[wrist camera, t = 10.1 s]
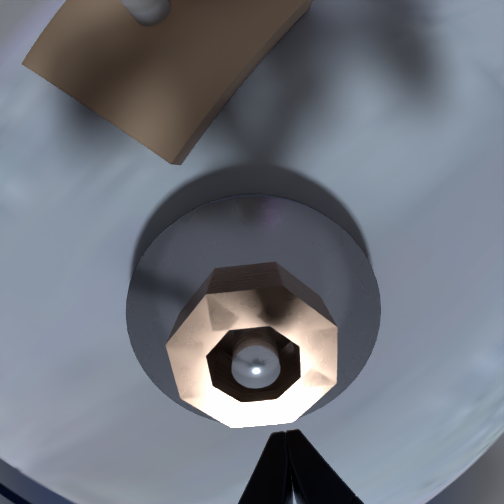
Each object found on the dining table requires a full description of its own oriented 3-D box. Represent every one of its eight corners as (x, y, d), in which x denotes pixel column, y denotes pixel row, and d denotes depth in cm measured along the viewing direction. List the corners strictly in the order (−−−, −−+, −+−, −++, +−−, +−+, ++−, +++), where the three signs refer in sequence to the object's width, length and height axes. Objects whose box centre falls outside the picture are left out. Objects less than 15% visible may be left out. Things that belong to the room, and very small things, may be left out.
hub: (100, 334, 16) (64, 379, 12) (225, 141, 14) (215, 128, 9) (273, 434, 18) (279, 489, 14) (412, 289, 16) (456, 325, 11)
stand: (41, 72, 12) (-16, 50, 8) (157, -62, 11) (134, -113, 6) (180, 165, 14) (148, 162, 9) (309, 8, 12) (332, -47, 7)
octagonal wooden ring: (198, 388, 15) (190, 429, 12) (172, 272, 14) (154, 298, 11) (322, 376, 15) (335, 415, 12) (318, 256, 14) (337, 279, 11)
